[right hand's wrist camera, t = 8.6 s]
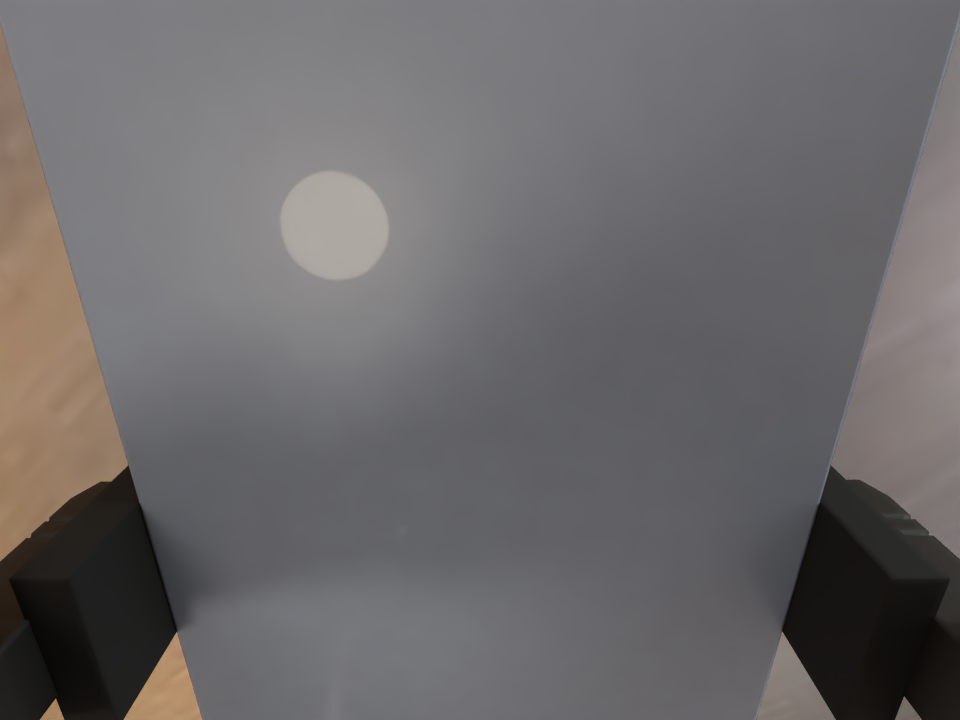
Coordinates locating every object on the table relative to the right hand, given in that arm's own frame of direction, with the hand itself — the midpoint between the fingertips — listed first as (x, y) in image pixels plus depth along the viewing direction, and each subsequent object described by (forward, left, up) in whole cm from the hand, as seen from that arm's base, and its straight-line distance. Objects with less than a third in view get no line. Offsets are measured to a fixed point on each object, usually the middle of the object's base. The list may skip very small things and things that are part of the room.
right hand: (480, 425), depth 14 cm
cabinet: (+2, +3, -5) cm, 6 cm away
